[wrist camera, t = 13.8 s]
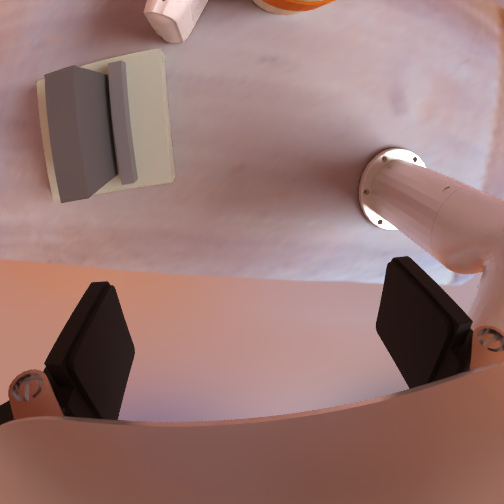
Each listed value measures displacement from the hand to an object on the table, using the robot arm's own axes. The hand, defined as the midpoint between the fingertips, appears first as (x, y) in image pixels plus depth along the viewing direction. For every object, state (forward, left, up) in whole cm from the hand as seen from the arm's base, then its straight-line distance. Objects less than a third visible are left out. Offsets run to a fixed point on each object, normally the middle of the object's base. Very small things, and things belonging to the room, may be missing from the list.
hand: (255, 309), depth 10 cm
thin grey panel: (+14, -6, -28) cm, 31 cm away
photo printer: (+3, -20, -32) cm, 38 cm away
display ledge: (+14, -6, -32) cm, 35 cm away
